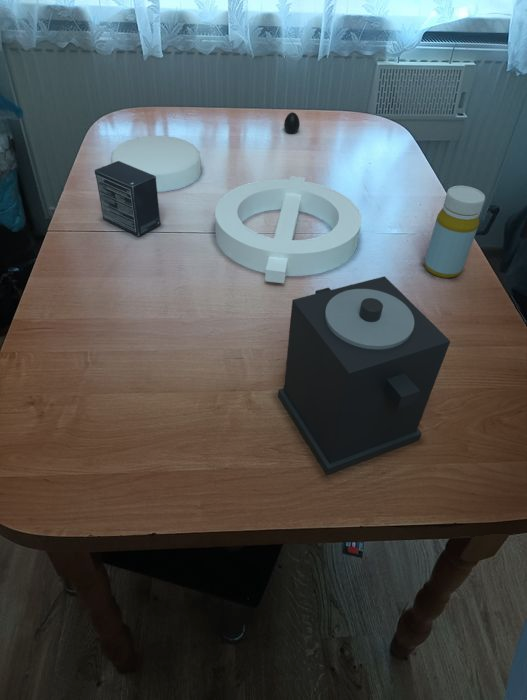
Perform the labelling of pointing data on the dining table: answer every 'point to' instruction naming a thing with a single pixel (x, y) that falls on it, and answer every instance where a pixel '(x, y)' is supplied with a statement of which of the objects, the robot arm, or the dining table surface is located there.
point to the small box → (128, 197)
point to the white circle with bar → (287, 228)
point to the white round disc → (162, 160)
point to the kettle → (359, 371)
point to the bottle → (454, 231)
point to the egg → (291, 123)
